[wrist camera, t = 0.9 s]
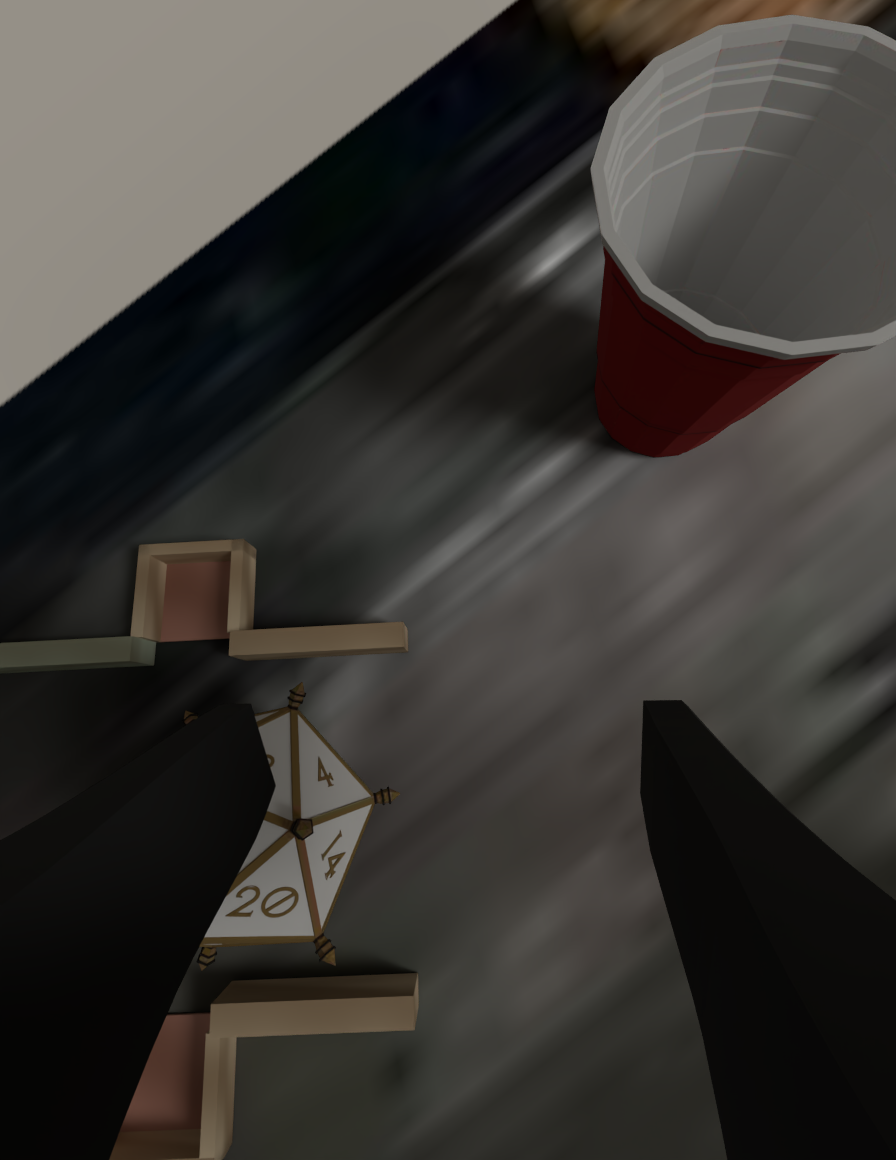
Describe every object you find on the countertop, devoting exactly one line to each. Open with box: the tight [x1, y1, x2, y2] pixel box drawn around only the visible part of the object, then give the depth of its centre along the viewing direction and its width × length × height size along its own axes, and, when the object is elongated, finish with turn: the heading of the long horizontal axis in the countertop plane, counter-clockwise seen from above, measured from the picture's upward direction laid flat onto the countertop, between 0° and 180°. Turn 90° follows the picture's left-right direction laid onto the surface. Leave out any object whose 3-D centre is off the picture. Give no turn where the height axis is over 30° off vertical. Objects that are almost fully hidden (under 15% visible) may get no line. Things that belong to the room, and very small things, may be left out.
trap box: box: [0, 539, 419, 1160], centre depth 21 cm, size 22×22×3 cm
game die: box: [182, 682, 400, 971], centre depth 19 cm, size 9×8×10 cm
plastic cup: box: [591, 15, 896, 457], centre depth 21 cm, size 11×11×12 cm
